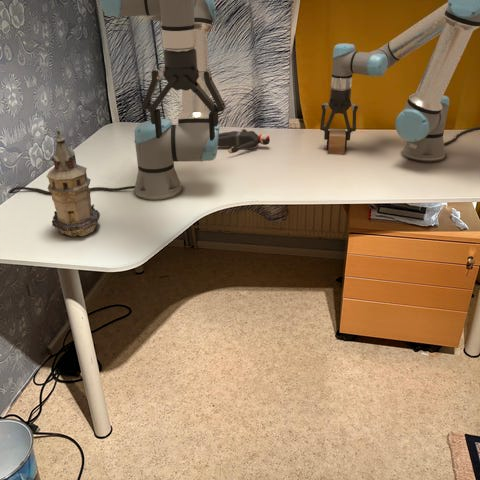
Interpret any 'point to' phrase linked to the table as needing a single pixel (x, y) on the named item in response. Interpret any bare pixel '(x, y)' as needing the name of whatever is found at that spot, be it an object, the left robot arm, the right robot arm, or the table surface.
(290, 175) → the table surface
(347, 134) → the right robot arm
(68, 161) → the miniature building
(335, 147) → the brick
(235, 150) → the toy
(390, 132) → the table surface
